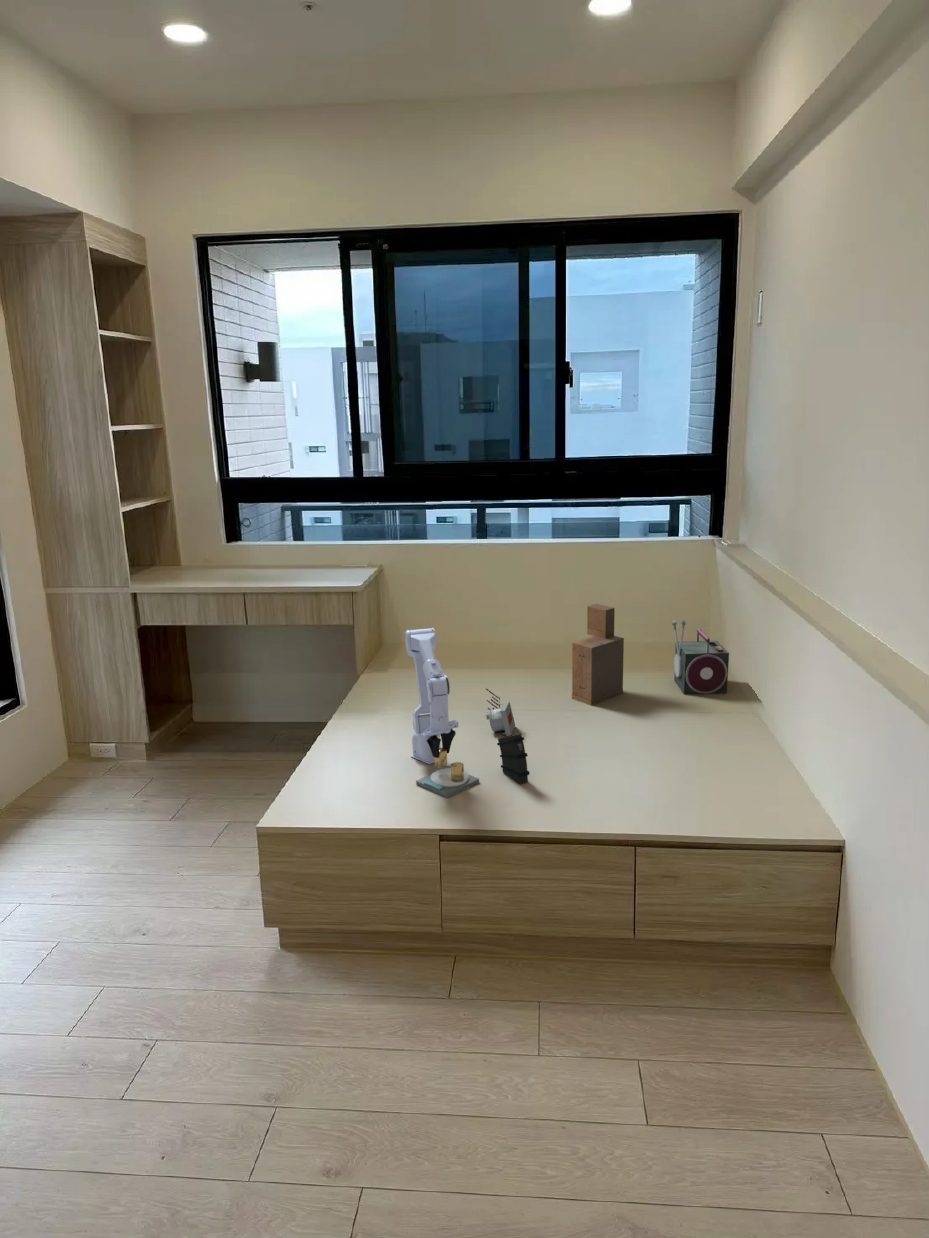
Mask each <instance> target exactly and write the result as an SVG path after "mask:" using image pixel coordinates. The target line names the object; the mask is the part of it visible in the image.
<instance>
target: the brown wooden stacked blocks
mask: <svg viewBox="0 0 929 1238" xmlns="http://www.w3.org/2000/svg"><path fill="white" fill-rule="evenodd" d="M586 608H587V611H586V612H587V613H586V616H587V617H586V618H587V619H586V629H587V630H586V634H587V635H588V636H591V637H588V638H584V639H581V640H577V641H574V642H572V643H571V644H572V646H571V647H572V649H571V650H572V656H571V657H572V659H571V661H572V664H571V665H572V667H571V670H572V672H571V675H572V678H571V680H572V682H571V684H572V685H571V690H572V691H571V692H572V693H571V700H575V701H577V702H580V703H583V704H586V705H588V706H593V705H597V704H599V703H601V702H604V701H607V700H610V699H612V698H614V697H618V696H619V695H620V696H621V695H623V694H624V651H625V650H624V649H625V648H624V645H625V642H624V640H625V639H624V637H621V636H616V635H615V607H613V606H608V605H604V604H599V603H595V604H590V605H587V607H586Z"/></svg>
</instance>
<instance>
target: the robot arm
mask: <svg viewBox="0 0 929 1238" xmlns="http://www.w3.org/2000/svg"><path fill="white" fill-rule="evenodd" d="M437 637H438V635H437V631H436V629H435V628H434V627H430V628H419V629H407V630H406V631H405V633H404V639H405V649H406V653H407V656H409V657H411V658H412V659H413V662H414V668H415V669H414V670H415V676H416V677H415V678H416V683H417V685H416V686H417V694H418V701H419V705H418V706H417V707H416V708H415V709H414V710H413V712H412V726H413V730H414V733H413V734H412V738H411V741H412V754H411V755H410V756H411V758H413V759H416V760H419V761H420V762H422V763H425V764H428V765H432V764H435V759H434V757H435V758H439V748H446V749H447V754H449V753H450V750H451V746H452V742H453V740H454V738H455V736H456V735H457V734H456V733H457V731H455V730H453V729H457V728H459V721H458V720H454V719H453V720H451V721H450V719H449V695H450V692H451V686H450V685H451V684H450V681H449V677H448V676H447V675H446V674H445V673H444V670H443V668H442V665H441V664H442V663H440V661H439V660H438V659H436V655H435V649H436V645H437V643H438V638H437ZM441 744H442V745H441Z"/></svg>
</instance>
